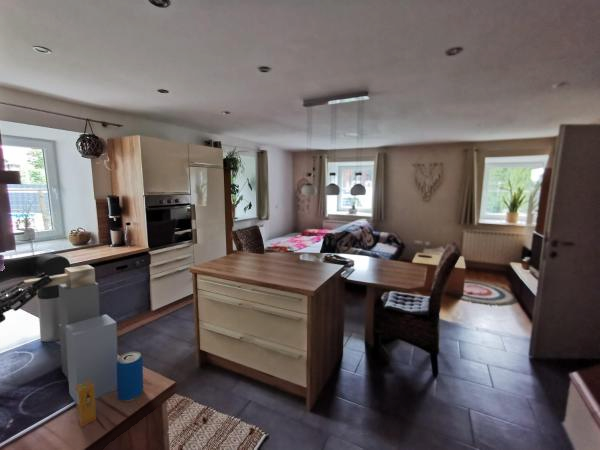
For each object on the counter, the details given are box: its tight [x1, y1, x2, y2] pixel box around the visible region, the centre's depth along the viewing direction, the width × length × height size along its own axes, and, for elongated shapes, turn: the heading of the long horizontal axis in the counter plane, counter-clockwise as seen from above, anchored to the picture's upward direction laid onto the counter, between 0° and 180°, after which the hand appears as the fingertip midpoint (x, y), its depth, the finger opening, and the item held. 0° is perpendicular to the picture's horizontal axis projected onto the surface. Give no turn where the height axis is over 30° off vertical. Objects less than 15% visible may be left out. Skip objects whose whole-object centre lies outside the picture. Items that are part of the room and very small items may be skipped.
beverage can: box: [116, 351, 144, 402], centre depth 81 cm, size 6×6×12 cm
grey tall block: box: [65, 314, 119, 405], centre depth 82 cm, size 8×10×21 cm
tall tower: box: [59, 281, 101, 381], centre depth 89 cm, size 12×8×30 cm, turn 53°
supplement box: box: [75, 380, 97, 428], centre depth 72 cm, size 3×3×10 cm
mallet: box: [23, 264, 96, 288], centre depth 83 cm, size 16×6×5 cm, turn 143°
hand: (48, 276), depth 81 cm, fingers open, 3 cm apart
